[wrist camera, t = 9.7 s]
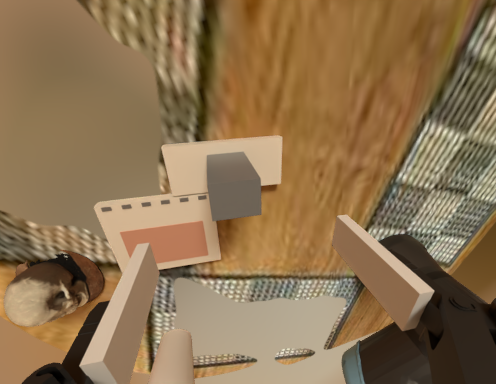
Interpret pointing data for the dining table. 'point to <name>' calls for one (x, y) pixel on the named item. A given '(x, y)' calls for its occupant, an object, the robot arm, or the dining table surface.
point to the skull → (51, 289)
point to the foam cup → (173, 359)
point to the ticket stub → (225, 172)
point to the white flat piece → (161, 228)
